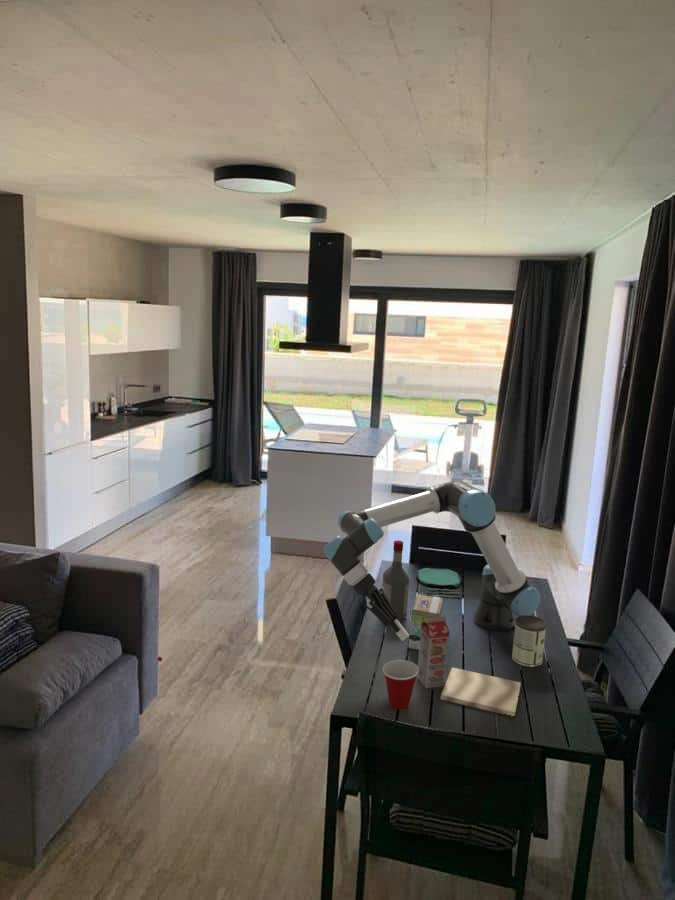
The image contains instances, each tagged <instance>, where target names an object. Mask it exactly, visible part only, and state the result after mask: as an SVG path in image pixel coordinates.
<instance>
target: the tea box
mask: <svg viewBox="0 0 675 900" xmlns="http://www.w3.org/2000/svg"><path fill="white" fill-rule="evenodd" d="M443 604H444V597H432V596H427V595H426V594H425V595H424V594H419V593H418V594H416V596H415V599H414V603H413V606H412V610H411V621H410V629H409V637H408V649H412V650H418V651H419V647H420V635H421V623H426V618H431V617H443V616H442V615H443V607H444V605H443Z"/></svg>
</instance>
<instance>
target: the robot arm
mask: <svg viewBox="0 0 675 900" xmlns="http://www.w3.org/2000/svg"><path fill="white" fill-rule="evenodd" d="M442 512H447V513H448V512H449V513H451V514H453V515H455V517H457V518H458V519H459V521H460V523H461V524H462V526H463V527H462V528H463V529H464V530H465V531H466V532H467V533H469V534H471V535H472V537H473V538H474V540H475V542H476V544H477V546H478V547H479V550H480V551H481V554H482V555H483V557H484V559H485V561H486V563H487V564H486V565H485V566H484V567H483V571H482V573H481V574H482V577H481V588H480V589H481V590H480V599H479V603H478V604H477V606H476V609H475V611H474V613H473V621H474V622H475V624H476V625H478V626H479V627H482V628H483V629H487V630H491V631H498V632H499V631H500V632H501V631H508V630H511V629H512V628H513V627H515V617H514V616H515V615H516V616H517V617H518V616H523V615H528V616H531V615H532V614H533V613H535V611H536V610H537V609H538V607H539V604H540V603H541V593H540V592H539V590H538V589H537V588H536V587H534V586H532V584H531V583H530V581H529V578H528V577H527V575H526V573H525V572H524V571H523V570H519V569H518V567H517V565H516V563H515V561H514V559H513V557H512V554H511V552H510V550H509V549H508V548H507V544H506V543H505V541H504V538H503V537H502V535H501V533H500V531H499V529H498V527H497V525H496V523H495V521H496V517H497V516H496V514H495V512H496V504H495V501H494V499H493V498H492V497H491V496H490V495H489V494H488V492H485V491H484V490H482V489H480V488H477V487H475V486H473V485H471V484H469V483H467V482H464V481H459V480H457V481H455V480H454V481H449V482H444V483H440V484H437V485H433V486H429V487H428V488H427V489H426V490H425V491H423V492H419V493H417V494H413V495H410V496H406V497H403V498H399V499H396V500H393V501H389V502H385V503H382V504H379V505H375V506H373V507H369V508H366V509H363V510H358V511H353V510H345V511H343V512H342V513H340V514H339V516H338V518H337V525H338V527H339V528H340V530H341V531H342V533H343V534H345V535H346V536H345V537H344V538H343V537H342V536H341V535H337V536H336V537H334V538H333V539H332V540H331V541H329V542H328V543H327V544H325V545H324V547H323V552H324V554H325V555H326V556H327V559H328V560H329V561H330V562H331V564H332V565H333V566H334V567H335V569H336V570H337V571H338V573H339V574H340V575H341V576H342V577H343V579H344V581H346V582H347V583H348V585H349V586H351V589H352V590H353V591H354V593H355V595H356V596H361V595H362V598H363V600H364V601H366V604H365V605H364V607H365V608H366V609H367V610H369V611H370V612H371V613H372V614H373V615H374V616H375V617H376V618H377V619H378V621H380V622H381V623H382V625H384V626H385V627H388V626H389V627H390V628H391V629H392V631H393V632H394V633H395V634H396V636H398V638H399V639H400V640H401V642H403V641H405V640H406V639H407V638H408V639H409V637H410V633H408V631H407V630H406V628H404V626H403V625H402V624H401V621H400V620H397V619H396V618H398V615H397V613H396V611H395V610H394V608H393V606H392V605H391V603H390V602H389V600H388V598H387V597H386V595H385V593H384V591H383V589H382V588H381V587H380V588H379V589H378V587H377V586H375V584H376V579H375V578H374V576H373V575H372V574H371V573H368V571H369V570H368V569H367V568H366V566H365V565H364V564H363V562H362V561H361V560H360V559H359V558H358V557H360V556H361V555H362V554H364V553H365V552H366V551H367V550H368V549H369V548H372V546H374V545H375V544H376V543H378V541H379V540H381V539H382V538H383V537H384V535H385V533H384V530H383V527H386V526H389V525H393V524H396V523H399V522H402V521H406V520H411V519H412V518H415V517H420V516H422V515H426V514H429V513H434V514H439V513H442ZM396 615H397V616H396Z"/></svg>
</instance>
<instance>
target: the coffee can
mask: <svg viewBox="0 0 675 900" xmlns="http://www.w3.org/2000/svg"><path fill="white" fill-rule="evenodd" d="M547 626H548V623H547V622H546V621H545V620H544V619H543V618H540V617H538V616H534V615H529V616H528V615H523V616H517V617H515V618H514V634H513V643H512V644H513V645H512V654H511V659H512V660H513V661H514V662H515V663H517V664H518V665H520V666H524V667H528V666H529V668H534V667H535V666H537V667H539V666H541V665H542V664H543V656H544V647H545V640H546V629H547ZM538 665H539V666H538ZM535 668H536V667H535Z"/></svg>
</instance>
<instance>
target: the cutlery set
mask: <svg viewBox="0 0 675 900" xmlns="http://www.w3.org/2000/svg"><path fill="white" fill-rule="evenodd" d="M416 578H417V579H418V580H419V581H420V583H422V584H424V585H425V586H427V585H429V586H430V585H431V586H434V587H454V588H457V587H459V586H460V584H461V582H462V577H461V576H460V575H459V574H458V572H456V571H454V570H451V569H448V568H436V567H433V568H432V567H425V568H421V569H419V570H418V571H417V573H416ZM426 589H427V590H426V592H425V593H427V594H429V593H430V594H429V595H432V596H433V597H439V598H446V597H449V598H451V599H462V598H463V597H462V595H461V591H460V590H456V591H455V590H452V589H448V588H443V589H441V588H428V587H427V588H426ZM437 590H441V591H437ZM429 591H435V592H434V593H436V592H438V593H436V594H433V592H429ZM441 592H442V593H443V594H439V593H441ZM445 594H446V595H445ZM448 594H449V595H448ZM450 594H451V595H450ZM449 598H448V599H449Z"/></svg>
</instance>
